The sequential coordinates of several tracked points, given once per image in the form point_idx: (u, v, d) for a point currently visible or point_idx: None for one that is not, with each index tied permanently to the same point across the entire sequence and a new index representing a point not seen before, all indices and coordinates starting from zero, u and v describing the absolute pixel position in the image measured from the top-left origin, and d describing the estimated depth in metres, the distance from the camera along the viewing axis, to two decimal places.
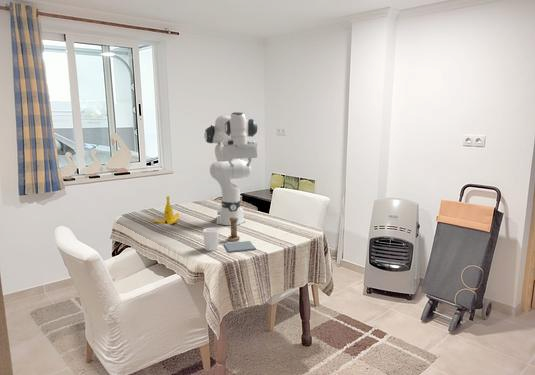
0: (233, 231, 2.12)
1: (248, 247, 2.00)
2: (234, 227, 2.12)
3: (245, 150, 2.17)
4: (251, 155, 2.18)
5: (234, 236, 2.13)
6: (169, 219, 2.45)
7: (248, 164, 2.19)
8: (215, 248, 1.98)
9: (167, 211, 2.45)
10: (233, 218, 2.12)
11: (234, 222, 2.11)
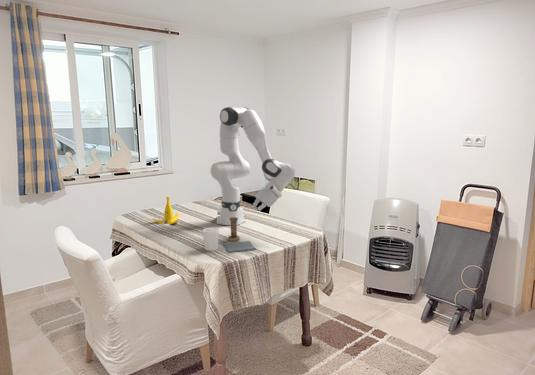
0: (233, 231, 2.12)
1: (248, 247, 2.00)
2: (234, 227, 2.12)
3: None
4: None
5: (234, 236, 2.13)
6: (169, 219, 2.45)
7: None
8: (215, 248, 1.98)
9: (167, 211, 2.45)
10: (233, 218, 2.12)
11: (234, 222, 2.11)
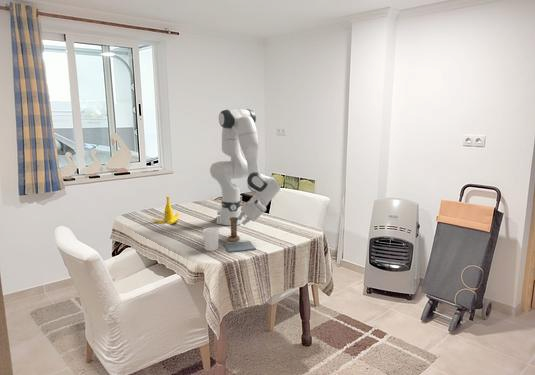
0: (233, 231, 2.12)
1: (248, 247, 2.00)
2: (234, 227, 2.12)
3: None
4: None
5: (234, 236, 2.13)
6: (169, 219, 2.45)
7: None
8: (215, 248, 1.98)
9: (167, 211, 2.45)
10: (233, 218, 2.12)
11: (234, 222, 2.11)
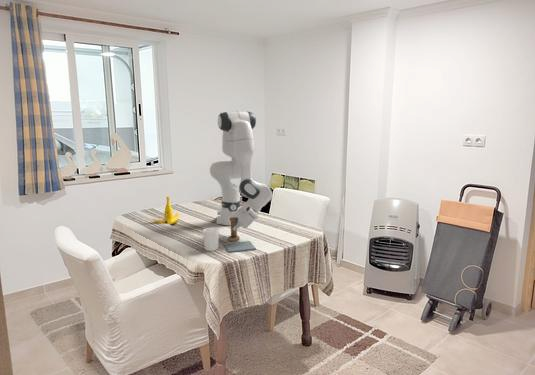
0: (233, 231, 2.12)
1: (248, 247, 2.00)
2: None
3: None
4: None
5: (234, 236, 2.13)
6: (169, 219, 2.45)
7: None
8: (215, 248, 1.98)
9: (167, 211, 2.45)
10: (233, 218, 2.12)
11: (234, 222, 2.11)
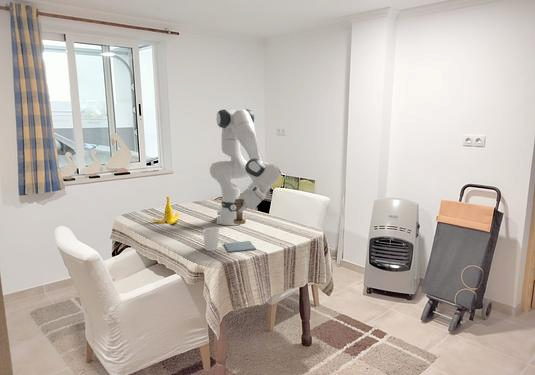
0: (239, 213, 1.98)
1: (248, 247, 2.00)
2: None
3: None
4: None
5: (240, 219, 1.98)
6: (169, 219, 2.45)
7: None
8: (215, 248, 1.98)
9: (167, 211, 2.45)
10: (239, 199, 1.98)
11: (240, 204, 1.97)
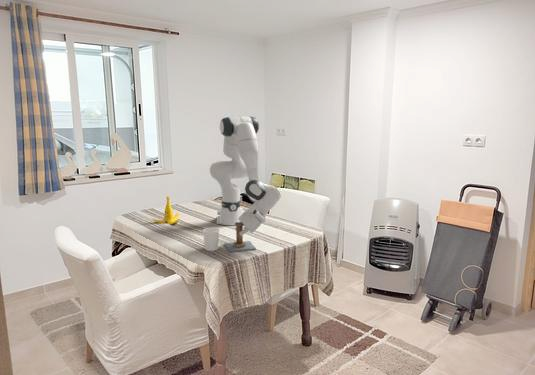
0: (239, 237, 2.00)
1: (248, 247, 2.00)
2: None
3: None
4: None
5: (240, 242, 2.01)
6: (169, 219, 2.45)
7: None
8: (215, 248, 1.98)
9: (167, 211, 2.45)
10: (239, 223, 2.00)
11: (240, 227, 1.99)
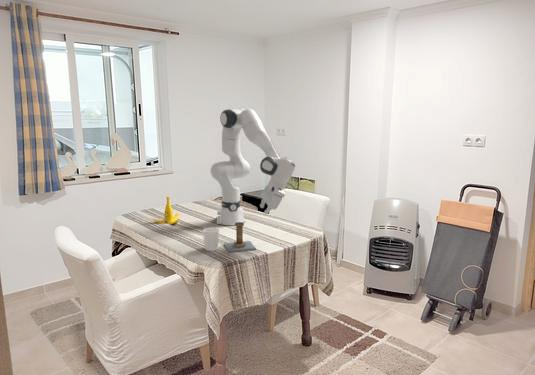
0: (239, 237, 2.00)
1: (248, 247, 2.00)
2: (240, 232, 2.00)
3: None
4: None
5: (240, 242, 2.01)
6: (169, 219, 2.45)
7: None
8: (215, 248, 1.98)
9: (167, 211, 2.45)
10: (239, 223, 2.00)
11: (240, 227, 1.99)
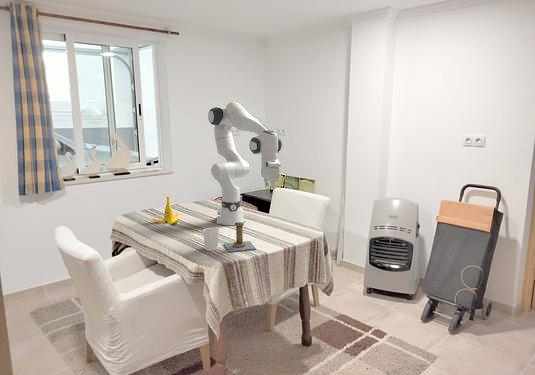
0: (239, 237, 2.00)
1: (248, 247, 2.00)
2: (240, 232, 2.00)
3: None
4: None
5: (240, 242, 2.01)
6: (169, 219, 2.45)
7: None
8: (215, 248, 1.98)
9: (167, 211, 2.45)
10: (239, 223, 2.00)
11: (240, 227, 1.99)
